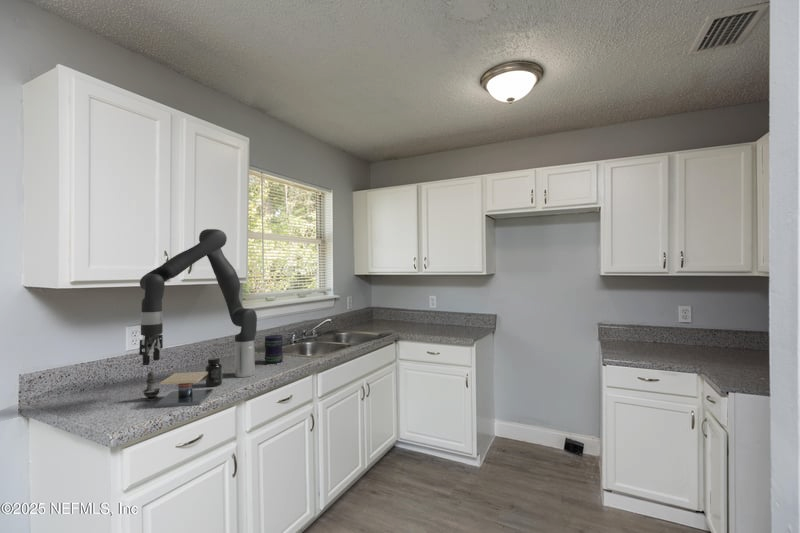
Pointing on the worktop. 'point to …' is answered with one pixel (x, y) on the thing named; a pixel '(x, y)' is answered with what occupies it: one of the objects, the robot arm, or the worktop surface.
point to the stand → (184, 390)
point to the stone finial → (151, 387)
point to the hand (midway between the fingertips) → (151, 362)
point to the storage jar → (273, 349)
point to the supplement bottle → (213, 372)
